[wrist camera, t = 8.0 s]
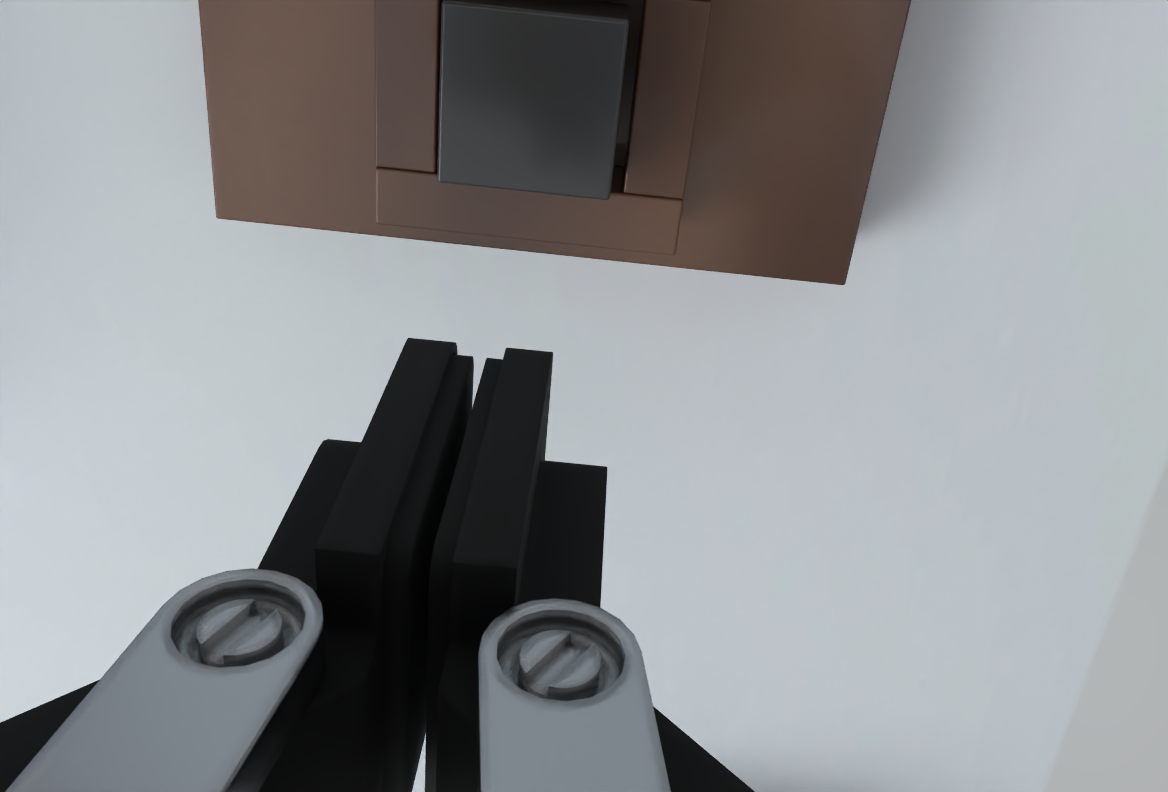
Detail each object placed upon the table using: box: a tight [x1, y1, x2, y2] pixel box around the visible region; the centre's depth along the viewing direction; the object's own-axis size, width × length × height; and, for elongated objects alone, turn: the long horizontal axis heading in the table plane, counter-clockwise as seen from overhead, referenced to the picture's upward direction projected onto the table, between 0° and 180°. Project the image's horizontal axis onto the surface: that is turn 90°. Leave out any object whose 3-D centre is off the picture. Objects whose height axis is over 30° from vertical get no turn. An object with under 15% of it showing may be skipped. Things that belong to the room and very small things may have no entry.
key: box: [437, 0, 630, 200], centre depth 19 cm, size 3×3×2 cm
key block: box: [199, 0, 911, 285], centre depth 21 cm, size 14×8×4 cm, turn 85°
